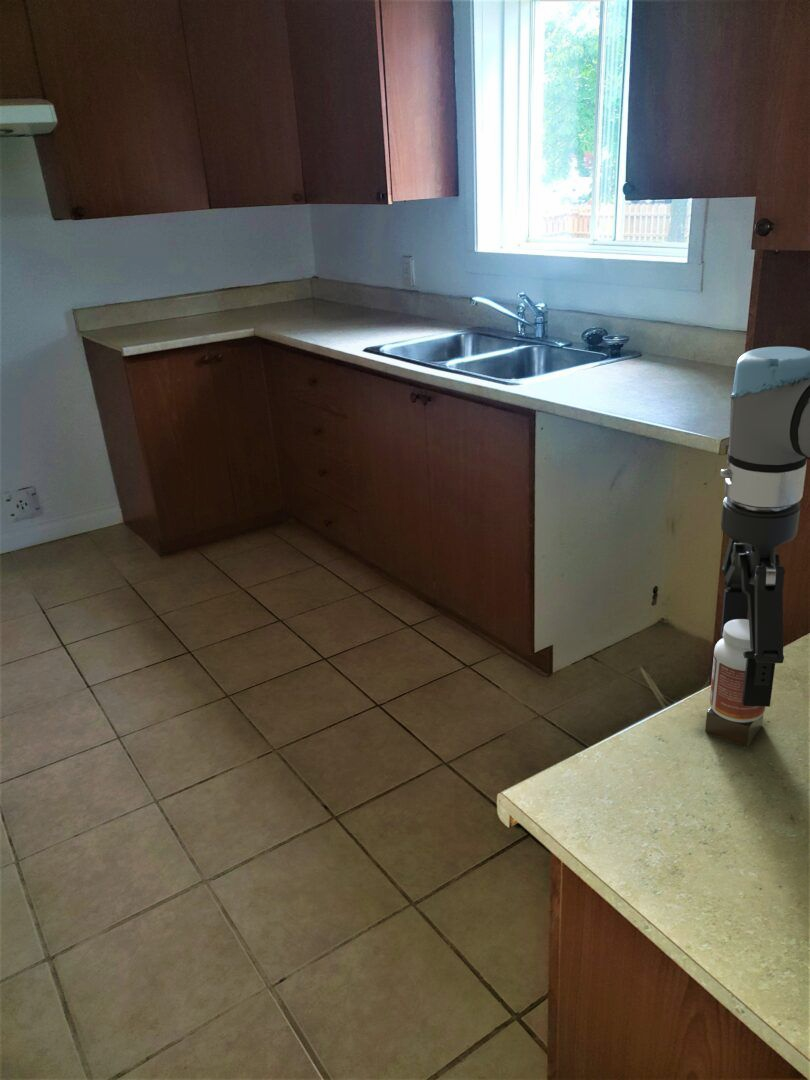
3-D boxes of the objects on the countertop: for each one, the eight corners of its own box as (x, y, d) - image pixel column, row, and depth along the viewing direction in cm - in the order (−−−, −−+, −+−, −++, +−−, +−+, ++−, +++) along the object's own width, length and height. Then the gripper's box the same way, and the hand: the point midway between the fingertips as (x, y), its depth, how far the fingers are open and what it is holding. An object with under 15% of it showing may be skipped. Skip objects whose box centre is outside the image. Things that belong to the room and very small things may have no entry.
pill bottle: (775, 718, 95) (788, 637, 90) (728, 729, 94) (738, 648, 89) (743, 688, 100) (753, 611, 96) (698, 698, 99) (706, 620, 95)
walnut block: (720, 710, 102) (723, 691, 100) (762, 725, 99) (764, 705, 97) (704, 732, 98) (706, 711, 97) (746, 748, 95) (749, 727, 94)
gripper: (705, 459, 97) (694, 613, 106) (747, 551, 75) (728, 736, 84) (772, 457, 96) (755, 614, 105) (835, 551, 74) (806, 739, 83)
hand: (743, 668), depth 94 cm, fingers open, 13 cm apart
